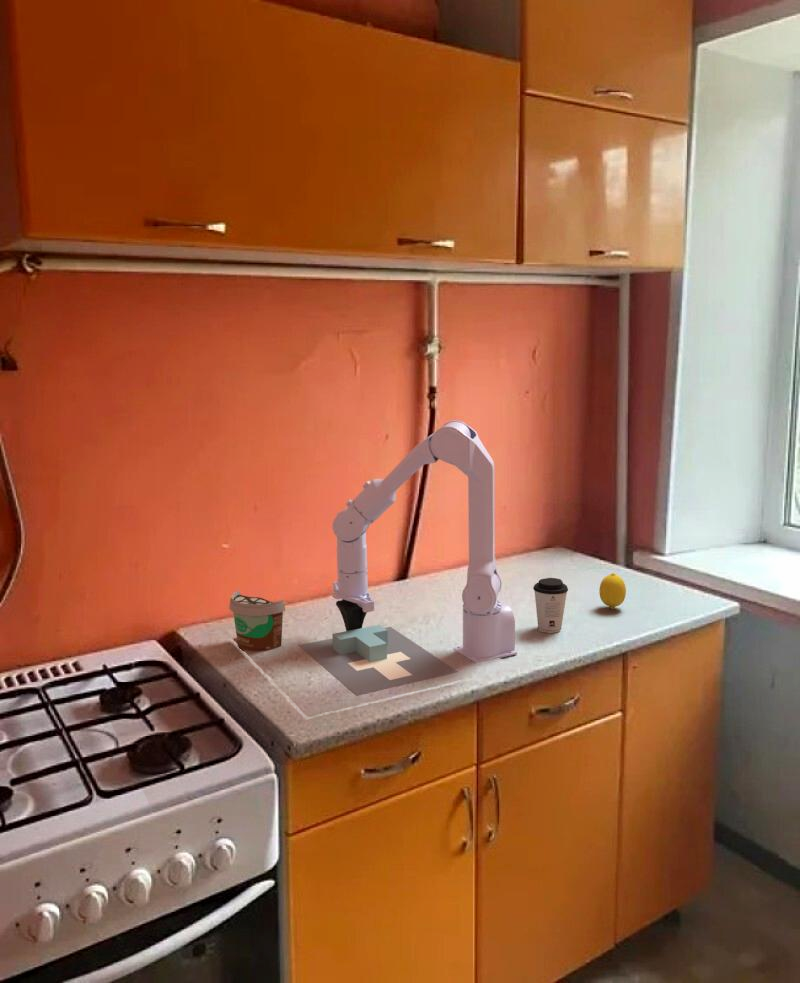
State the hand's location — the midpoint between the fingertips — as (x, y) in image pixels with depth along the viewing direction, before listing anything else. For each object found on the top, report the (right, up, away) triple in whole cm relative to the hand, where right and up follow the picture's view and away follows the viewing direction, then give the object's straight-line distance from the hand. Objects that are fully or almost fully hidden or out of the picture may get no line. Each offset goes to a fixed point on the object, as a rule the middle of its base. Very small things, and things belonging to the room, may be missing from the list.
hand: (353, 636), depth 172 cm
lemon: (+55, +3, +19) cm, 58 cm away
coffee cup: (+39, 0, +7) cm, 40 cm away
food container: (-20, -2, -1) cm, 20 cm away
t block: (+3, -2, -5) cm, 6 cm away
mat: (+4, -3, -8) cm, 9 cm away
